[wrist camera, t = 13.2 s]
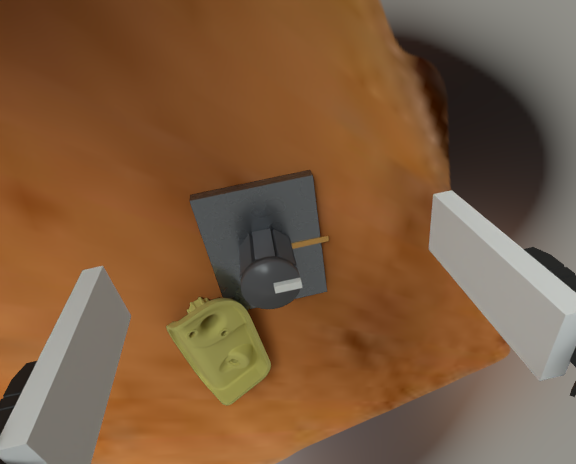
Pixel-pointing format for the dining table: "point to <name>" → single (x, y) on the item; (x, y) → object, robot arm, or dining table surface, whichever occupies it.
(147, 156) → the dining table surface
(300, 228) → the hub plate
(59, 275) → the dining table surface
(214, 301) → the plastic component
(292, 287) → the knob
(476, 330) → the dining table surface
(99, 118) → the dining table surface
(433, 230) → the robot arm
